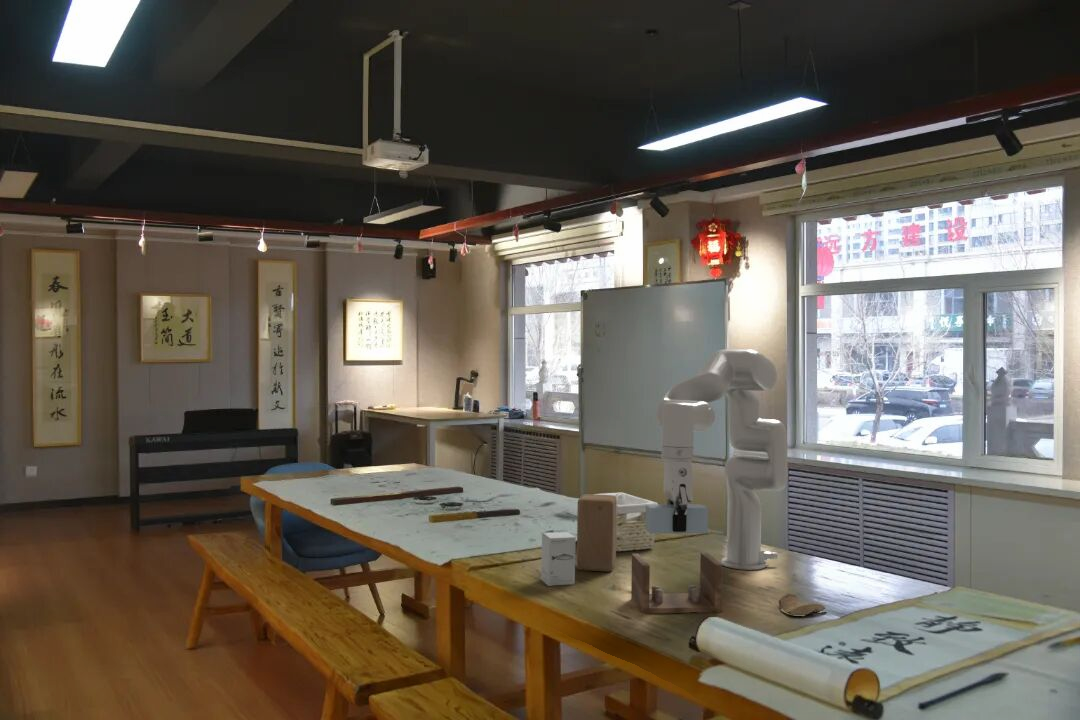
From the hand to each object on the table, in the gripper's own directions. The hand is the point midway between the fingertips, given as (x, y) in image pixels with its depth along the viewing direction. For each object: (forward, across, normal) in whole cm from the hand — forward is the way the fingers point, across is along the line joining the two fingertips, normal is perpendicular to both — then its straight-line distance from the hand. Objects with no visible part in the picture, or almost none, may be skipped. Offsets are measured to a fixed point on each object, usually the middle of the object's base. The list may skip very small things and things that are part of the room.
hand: (676, 528), depth 208 cm
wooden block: (+19, +38, +12) cm, 44 cm away
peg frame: (+19, 0, 0) cm, 19 cm away
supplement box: (+19, +23, +25) cm, 39 cm away
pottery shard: (+19, -6, -28) cm, 35 cm away
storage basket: (+19, +68, 0) cm, 71 cm away
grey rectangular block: (+1, 0, 0) cm, 1 cm away
